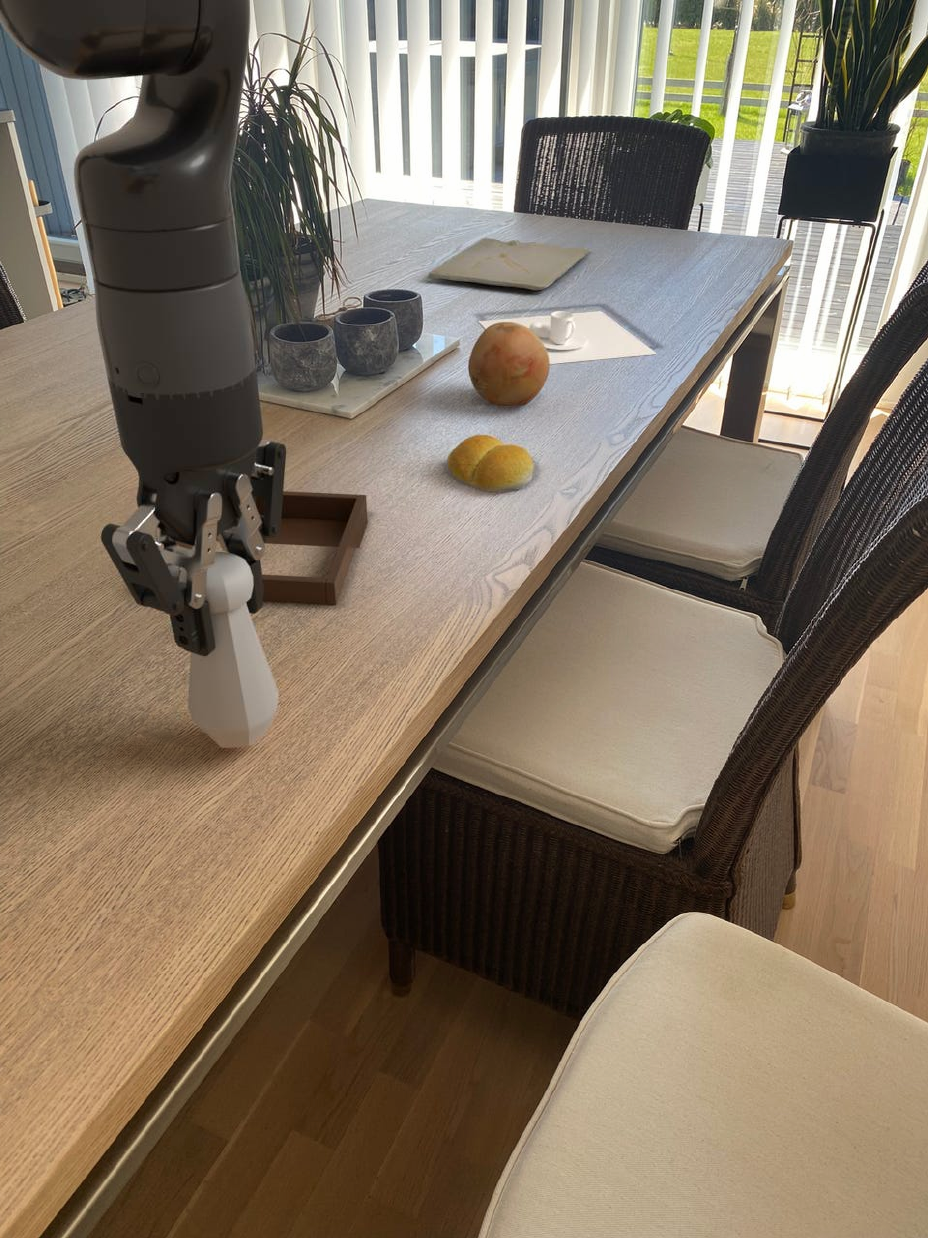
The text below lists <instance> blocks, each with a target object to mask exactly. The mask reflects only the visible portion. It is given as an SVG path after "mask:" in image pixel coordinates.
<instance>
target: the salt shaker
mask: <svg viewBox="0 0 928 1238" xmlns="http://www.w3.org/2000/svg"><path fill="white" fill-rule="evenodd" d="M181 570H182V571H181V573H180V576H179V581H180V582H183V583H186V580H187V572H186V570H185V569H184V568H182V567H181ZM253 586H254V583H253V574H252V572H251V569H250V566H249V565H248V563H247V562H246V560H244V559H243V558H241V557H239V556H237V555H234V554H232V553H229V552H226V551H216V552H215V563H214V565H213V566H212V567H211V568H208V570H207V581H206V597H205V600H206V601H208V602H209V609H210V615H211V621H212V627H213V633H214V639H215V645H216V648H215V649H214V650H213V651H212V652H211V653H210V654H209V655H207V656H201V655H198V654H195V653H192V652H190V657H189V659H190V661H189V681H188V701H187V708H188V709H187V710H188V711H189V713H190V716H191V717H192V719H193V721H194V723H195V725H196V726H197V727H198V728H199V729H201V730H202V732H203V733H204V734H206V735H207V736H208V737H209V738H211V740H212V741H214V742H215V743H216V744H217V746H219V747H220V748H221V749H225V748H250V747H252V746H253V744H255V743H257V742H258V741H259V740H261V739H262V738H263V737H265V736H266V735H267V734H268V733H270V730H271V727H272V725H273V722H274V721H275V717H276V715H277V712H278V705H279V700H280V699H279V697H280V692H279V689H278V687H277V684H276V681H275V679H274V675H273V673H272V670H271V669H270V665H269V663H268V660H267V657H266V654H265V652H264V648H263V646H262V644H261V643H262V642H261V640H260V638H259V636H258V632H257V630H256V627H255V624H254V622H253V619H252V616H251V613H249V610H248V607H247V604H246V602H247V601H248V600H249V599H250V598H251V595H252V591H253Z"/></svg>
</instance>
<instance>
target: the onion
mask: <svg viewBox="0 0 928 1238" xmlns="http://www.w3.org/2000/svg"><path fill="white" fill-rule="evenodd" d="M467 370H468V375H469V380H470V382H471V385H472V386H473V387H474V389H475V391H476V393H478V395H479V396H480V397H481V398H482V399H484V400H485V401H486V402H488V403H489V404H491V405H493V406H496V407H500V408H512V407H521V406H525V405H527V404H529V403H531V402H532V401H533V400H534V399H535V397H537V395H538V394H539V393H540V392H541V391H542V389H543V388H544V386H545V384H546V382H547V380H548V377H549V375H550V364H549V356H548V353H547V350H546V348H545V346H544V344H543V343H542V341H541V340H540V338H539V337H538V336H537V335H536V334H535V333H534V332H533V331H532V330H530V329H529V328H527V327H525V326H523V325H521V324H518V323H514V322H500V323H495V324H493V325H491V326H489V327H488V328H487V329H484V331H483V332H482V333H481V334H480V335H479V337H478V338H477V340H476V341H475V343H474V345H473V347H472V350H471V351H470V355H469V357H468V365H467Z"/></svg>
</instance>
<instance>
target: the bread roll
mask: <svg viewBox="0 0 928 1238" xmlns="http://www.w3.org/2000/svg"><path fill="white" fill-rule="evenodd" d="M447 467H448V472H449V473H450V475H451V476H452V477H453V478H454V480H456V481H457V482H459V483H461V484H463V485H465V486H469V487H473V488H475V489H476V490H477V491H480V492H483V493H487V494H500V493H506V492H507V493H508V492H512V491H516V490H520V489H523V488H524V487H526V486H527V485H528V484H529V483H530V482H531V480H532V478H533V472H534V469H535V464H534V459H533V458H532V455H531V454H530V452H528V451H527V449H525V448H524V447H522V446H520V445H516V444H505V443H504V442H503V441H501V440H500V439H499V438H496V437H494V436H492V435H489V434H475V435H472V436H470V437H467V438H465V439H464V440H462V441H461V442H460V443H459V444H458V445H456V447H454V448H453V449H452V450H451V452H449V454H448V456H447Z"/></svg>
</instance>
